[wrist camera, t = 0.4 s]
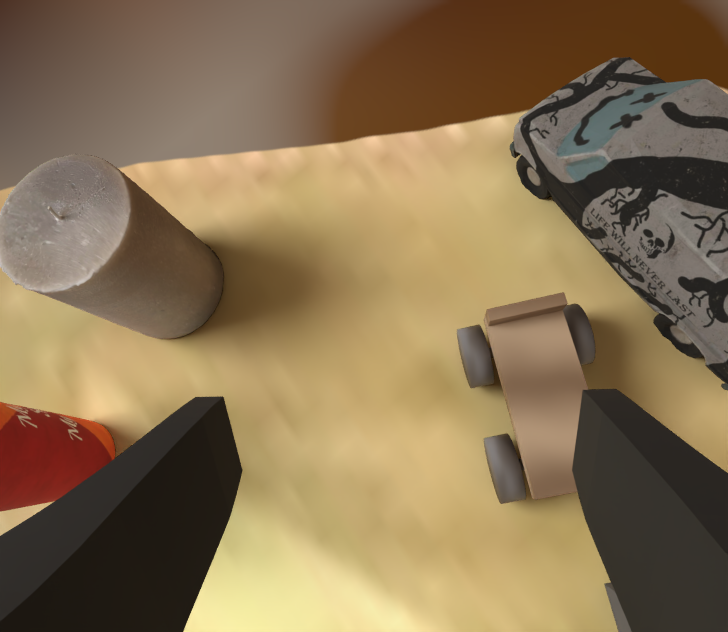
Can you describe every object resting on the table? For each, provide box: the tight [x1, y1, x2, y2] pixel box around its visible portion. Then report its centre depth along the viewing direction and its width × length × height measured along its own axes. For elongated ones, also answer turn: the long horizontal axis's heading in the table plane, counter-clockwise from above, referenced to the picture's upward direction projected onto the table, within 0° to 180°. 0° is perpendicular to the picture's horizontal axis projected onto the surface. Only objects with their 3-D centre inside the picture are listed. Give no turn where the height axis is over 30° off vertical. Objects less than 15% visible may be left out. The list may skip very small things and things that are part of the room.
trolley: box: [457, 292, 595, 504], centre depth 34 cm, size 12×9×7 cm
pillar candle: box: [0, 154, 223, 339], centre depth 38 cm, size 10×10×15 cm
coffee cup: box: [0, 402, 115, 511], centre depth 34 cm, size 8×8×15 cm
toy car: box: [510, 57, 728, 390], centre depth 35 cm, size 11×25×10 cm, turn 33°
